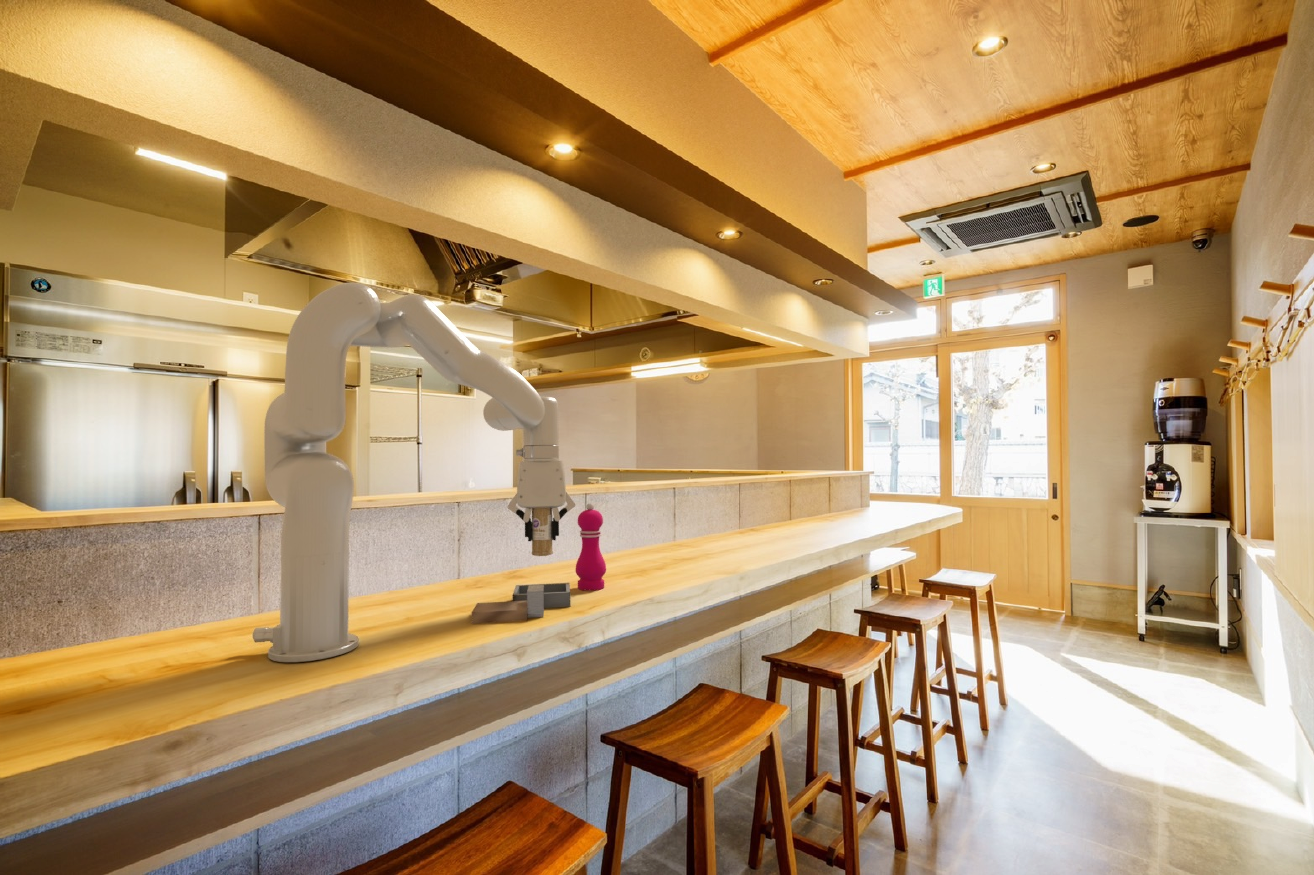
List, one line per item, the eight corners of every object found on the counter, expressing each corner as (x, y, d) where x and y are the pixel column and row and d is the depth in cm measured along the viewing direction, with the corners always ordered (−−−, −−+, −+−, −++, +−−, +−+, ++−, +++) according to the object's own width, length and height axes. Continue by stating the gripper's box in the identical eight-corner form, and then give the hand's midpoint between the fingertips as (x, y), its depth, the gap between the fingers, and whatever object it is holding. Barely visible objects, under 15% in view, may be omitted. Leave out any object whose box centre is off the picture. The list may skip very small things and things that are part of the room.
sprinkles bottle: (527, 556, 128) (527, 492, 129) (537, 553, 133) (536, 491, 133) (547, 556, 127) (547, 492, 128) (556, 553, 132) (556, 491, 132)
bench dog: (527, 618, 116) (527, 591, 116) (528, 610, 122) (528, 585, 122) (543, 617, 117) (543, 590, 117) (544, 609, 123) (543, 584, 123)
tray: (512, 609, 123) (512, 595, 123) (516, 598, 134) (515, 585, 134) (570, 606, 125) (570, 592, 125) (569, 595, 136) (569, 582, 136)
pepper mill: (608, 585, 147) (607, 501, 148) (603, 591, 140) (602, 503, 141) (579, 584, 148) (578, 502, 149) (572, 591, 141) (571, 504, 142)
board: (471, 626, 113) (471, 612, 113) (477, 615, 121) (477, 603, 121) (526, 623, 114) (526, 609, 115) (528, 613, 122) (528, 600, 122)
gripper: (499, 454, 126) (499, 544, 125) (581, 453, 129) (582, 540, 128) (502, 455, 133) (503, 539, 132) (580, 454, 136) (581, 536, 135)
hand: (542, 539), depth 130 cm, fingers closed on sprinkles bottle, 4 cm apart
